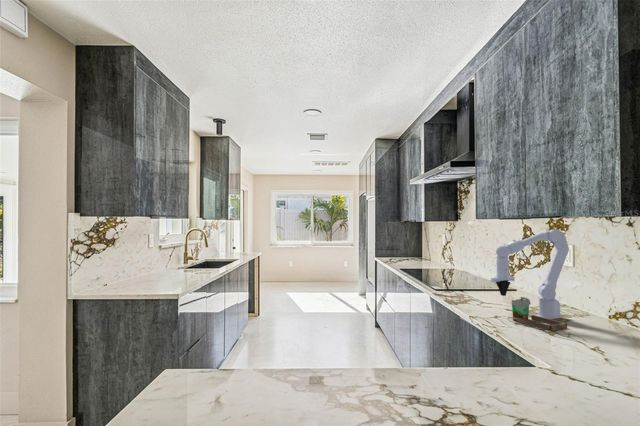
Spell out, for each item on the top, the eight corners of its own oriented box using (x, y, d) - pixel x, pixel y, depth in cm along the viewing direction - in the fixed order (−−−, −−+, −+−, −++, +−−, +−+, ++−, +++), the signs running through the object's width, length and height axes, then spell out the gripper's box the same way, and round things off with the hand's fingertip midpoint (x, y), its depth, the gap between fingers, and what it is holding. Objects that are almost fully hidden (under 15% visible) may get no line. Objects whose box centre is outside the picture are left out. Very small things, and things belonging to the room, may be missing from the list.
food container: (525, 323, 178) (525, 302, 178) (511, 321, 183) (511, 300, 183) (535, 319, 186) (534, 298, 186) (521, 316, 191) (521, 296, 191)
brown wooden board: (532, 319, 186) (532, 315, 186) (567, 327, 170) (567, 323, 170) (516, 321, 182) (516, 317, 182) (550, 330, 166) (550, 326, 166)
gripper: (506, 267, 204) (506, 293, 204) (486, 269, 199) (486, 295, 198) (517, 269, 198) (518, 295, 198) (497, 270, 192) (497, 297, 192)
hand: (503, 295), depth 198 cm, fingers closed
